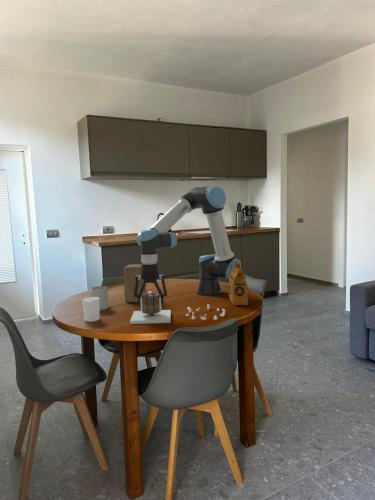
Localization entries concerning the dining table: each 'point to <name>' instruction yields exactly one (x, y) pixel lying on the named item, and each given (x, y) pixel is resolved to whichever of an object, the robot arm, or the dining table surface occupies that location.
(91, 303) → the white cup
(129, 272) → the wooden block
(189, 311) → the game piece set
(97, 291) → the mug
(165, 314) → the white flat block
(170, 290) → the dining table surface
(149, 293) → the post
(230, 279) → the coffee package
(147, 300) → the walnut bead
